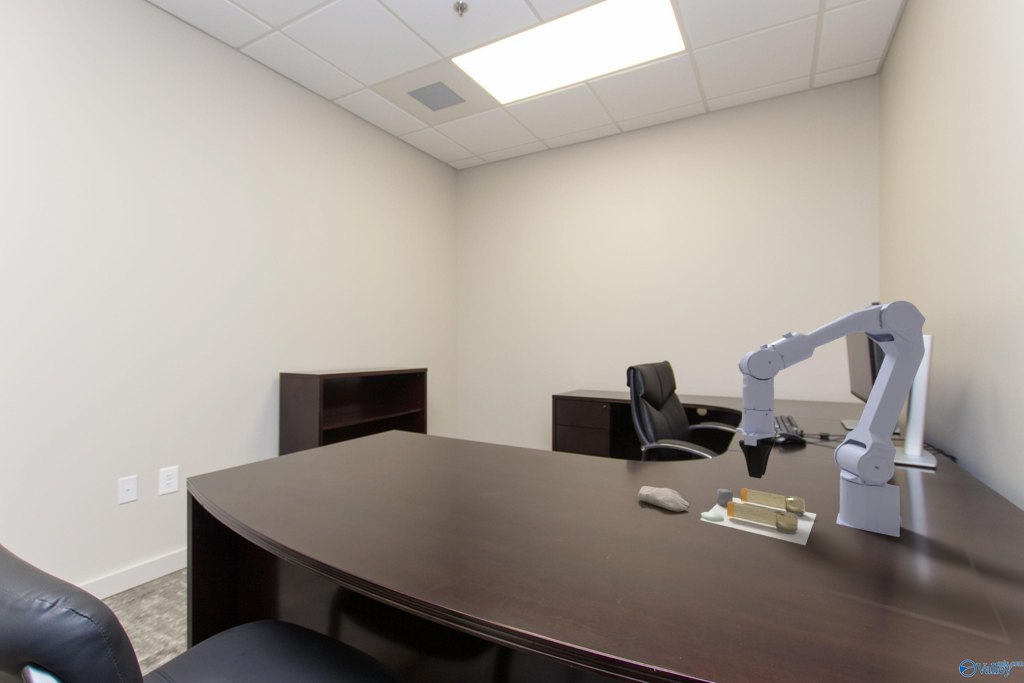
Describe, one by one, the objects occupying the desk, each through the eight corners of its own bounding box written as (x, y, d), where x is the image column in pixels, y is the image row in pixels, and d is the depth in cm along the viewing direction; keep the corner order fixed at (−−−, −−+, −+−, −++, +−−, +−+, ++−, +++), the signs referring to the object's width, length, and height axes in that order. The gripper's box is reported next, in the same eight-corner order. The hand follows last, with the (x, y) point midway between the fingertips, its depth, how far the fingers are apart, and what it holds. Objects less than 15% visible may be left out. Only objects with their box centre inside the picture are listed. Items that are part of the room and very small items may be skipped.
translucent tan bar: (798, 527, 85) (799, 513, 85) (796, 533, 82) (796, 519, 82) (730, 512, 92) (730, 499, 92) (725, 517, 90) (726, 504, 90)
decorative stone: (696, 519, 92) (678, 502, 107) (699, 500, 93) (680, 486, 107) (642, 508, 94) (631, 493, 108) (644, 490, 94) (633, 477, 109)
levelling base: (816, 516, 94) (816, 499, 94) (805, 547, 79) (805, 527, 79) (723, 497, 106) (723, 482, 106) (697, 521, 90) (697, 503, 90)
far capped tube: (806, 510, 94) (806, 498, 95) (804, 515, 92) (804, 502, 92) (743, 498, 102) (743, 486, 102) (739, 501, 99) (740, 490, 99)
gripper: (744, 404, 102) (743, 465, 102) (728, 410, 90) (727, 479, 90) (780, 407, 97) (779, 471, 97) (768, 413, 86) (767, 486, 86)
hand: (757, 475), depth 93 cm, fingers open, 3 cm apart
